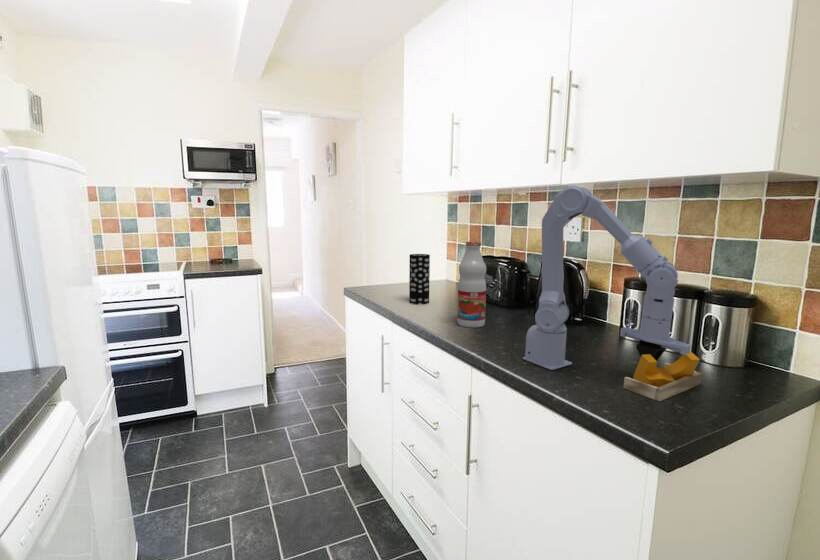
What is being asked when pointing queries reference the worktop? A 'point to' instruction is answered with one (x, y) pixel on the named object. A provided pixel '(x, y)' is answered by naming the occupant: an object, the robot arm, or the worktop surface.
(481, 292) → the fruit juice
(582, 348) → the worktop surface
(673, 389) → the tray
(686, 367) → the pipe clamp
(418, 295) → the spotted tube
